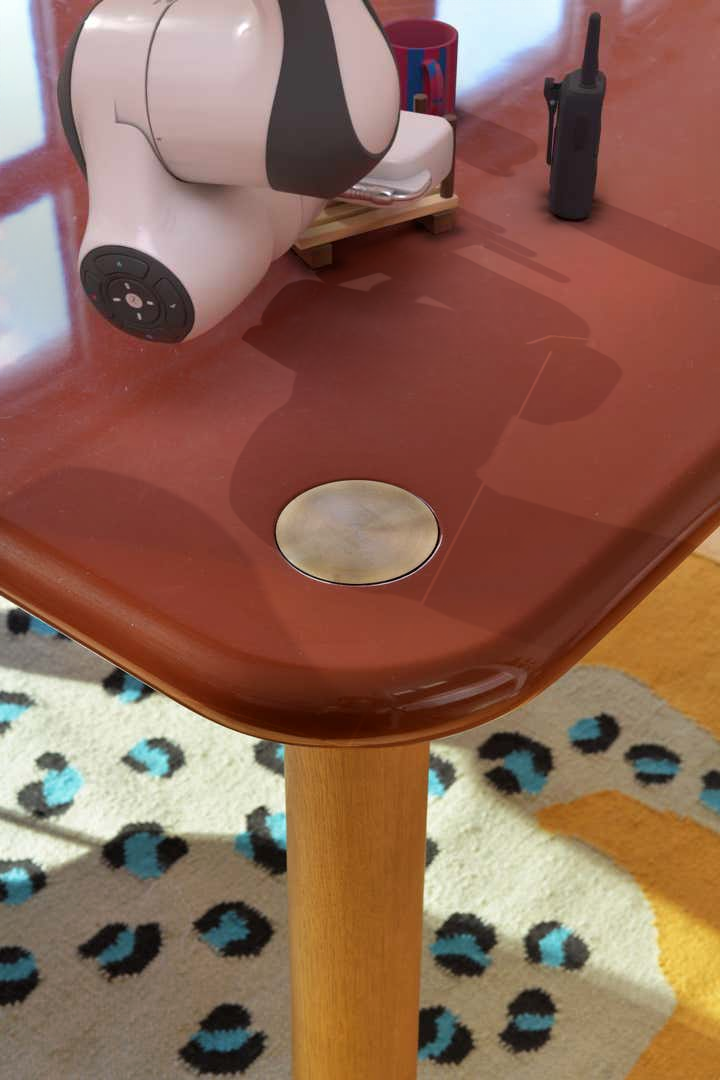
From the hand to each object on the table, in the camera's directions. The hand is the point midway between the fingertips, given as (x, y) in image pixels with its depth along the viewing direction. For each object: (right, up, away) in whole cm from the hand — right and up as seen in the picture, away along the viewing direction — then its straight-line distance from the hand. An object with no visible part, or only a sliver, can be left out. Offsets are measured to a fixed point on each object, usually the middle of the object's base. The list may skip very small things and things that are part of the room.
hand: (342, 92), depth 95 cm
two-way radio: (+17, -6, +8) cm, 19 cm away
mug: (+6, +4, +19) cm, 20 cm away
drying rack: (0, -7, +6) cm, 10 cm away
